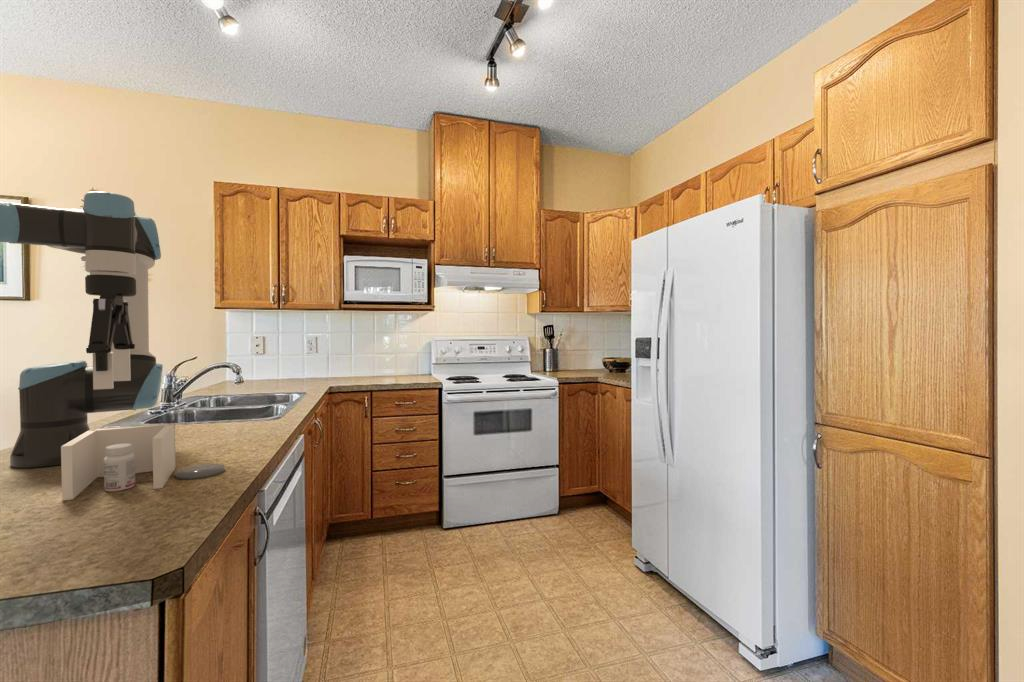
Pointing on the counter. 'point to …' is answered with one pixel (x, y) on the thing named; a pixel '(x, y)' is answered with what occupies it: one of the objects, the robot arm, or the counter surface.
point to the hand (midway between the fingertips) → (113, 384)
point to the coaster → (199, 471)
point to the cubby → (89, 451)
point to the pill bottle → (119, 468)
